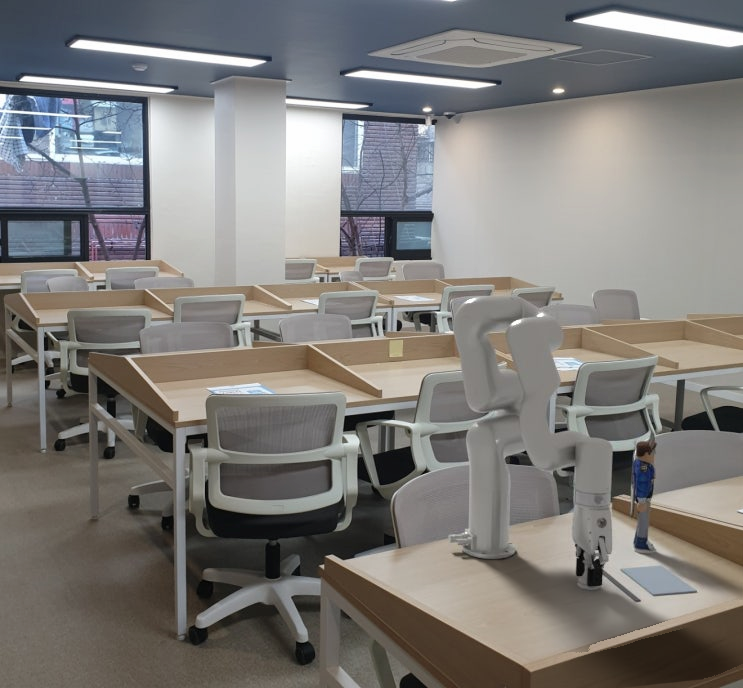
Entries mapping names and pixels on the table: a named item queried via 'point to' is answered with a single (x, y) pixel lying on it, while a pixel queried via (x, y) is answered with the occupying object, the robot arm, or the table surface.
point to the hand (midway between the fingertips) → (588, 579)
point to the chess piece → (583, 579)
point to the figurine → (643, 491)
